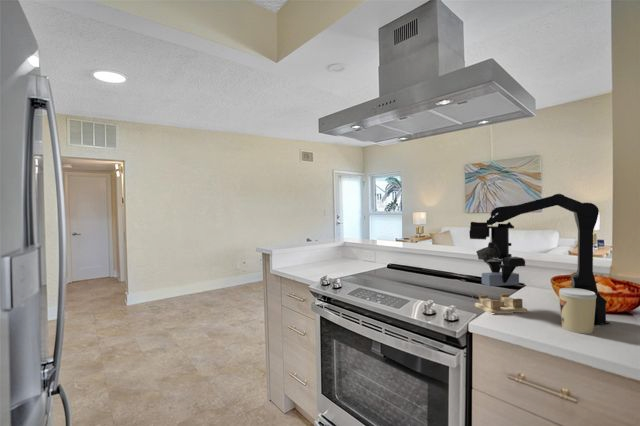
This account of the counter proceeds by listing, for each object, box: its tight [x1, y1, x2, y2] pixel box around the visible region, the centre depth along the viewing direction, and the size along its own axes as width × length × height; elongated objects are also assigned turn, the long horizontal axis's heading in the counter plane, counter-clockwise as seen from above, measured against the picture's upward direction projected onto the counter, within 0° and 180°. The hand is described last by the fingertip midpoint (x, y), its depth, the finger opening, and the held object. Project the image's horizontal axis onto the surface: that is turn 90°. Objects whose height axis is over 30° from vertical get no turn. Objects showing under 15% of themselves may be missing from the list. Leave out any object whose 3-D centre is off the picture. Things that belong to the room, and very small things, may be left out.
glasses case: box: [481, 271, 520, 287], centre depth 121 cm, size 4×12×4 cm, turn 98°
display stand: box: [474, 293, 528, 314], centre depth 122 cm, size 10×14×4 cm
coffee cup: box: [558, 287, 597, 335], centre depth 101 cm, size 9×9×12 cm
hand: (500, 281), depth 121 cm, fingers closed on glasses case, 4 cm apart
